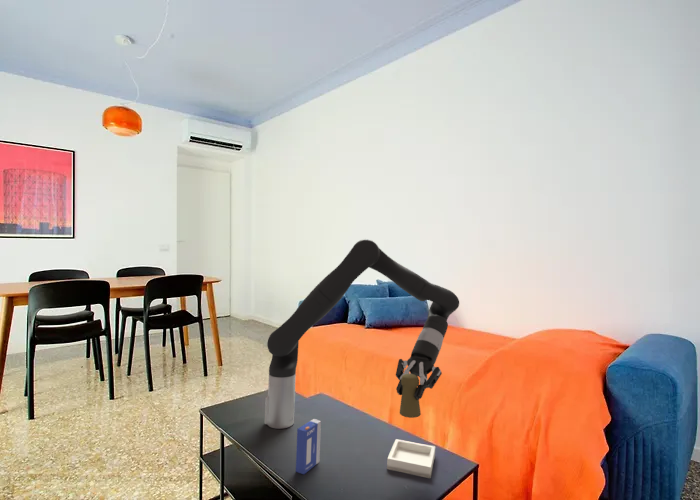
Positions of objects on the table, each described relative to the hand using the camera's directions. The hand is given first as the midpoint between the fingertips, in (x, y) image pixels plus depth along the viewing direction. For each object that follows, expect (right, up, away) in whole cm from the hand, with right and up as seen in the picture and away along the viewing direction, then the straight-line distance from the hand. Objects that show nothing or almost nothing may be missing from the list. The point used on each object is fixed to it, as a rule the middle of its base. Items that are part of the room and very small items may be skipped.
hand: (407, 395), depth 109 cm
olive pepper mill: (+1, -6, +1) cm, 6 cm away
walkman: (-28, -19, -2) cm, 34 cm away
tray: (+1, -20, +2) cm, 20 cm away
